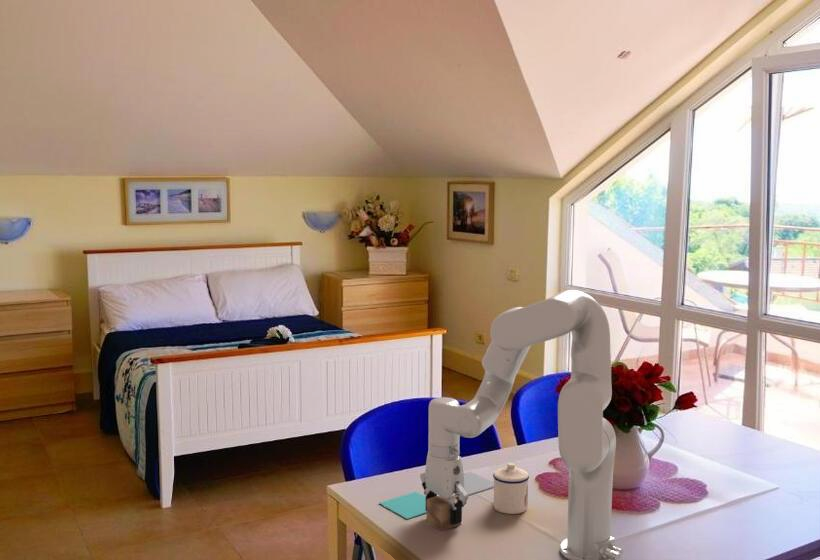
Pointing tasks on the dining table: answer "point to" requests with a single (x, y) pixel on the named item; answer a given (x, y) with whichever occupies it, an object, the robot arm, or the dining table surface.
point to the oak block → (439, 512)
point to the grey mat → (476, 483)
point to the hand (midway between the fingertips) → (443, 516)
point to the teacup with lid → (510, 489)
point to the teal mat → (407, 505)
